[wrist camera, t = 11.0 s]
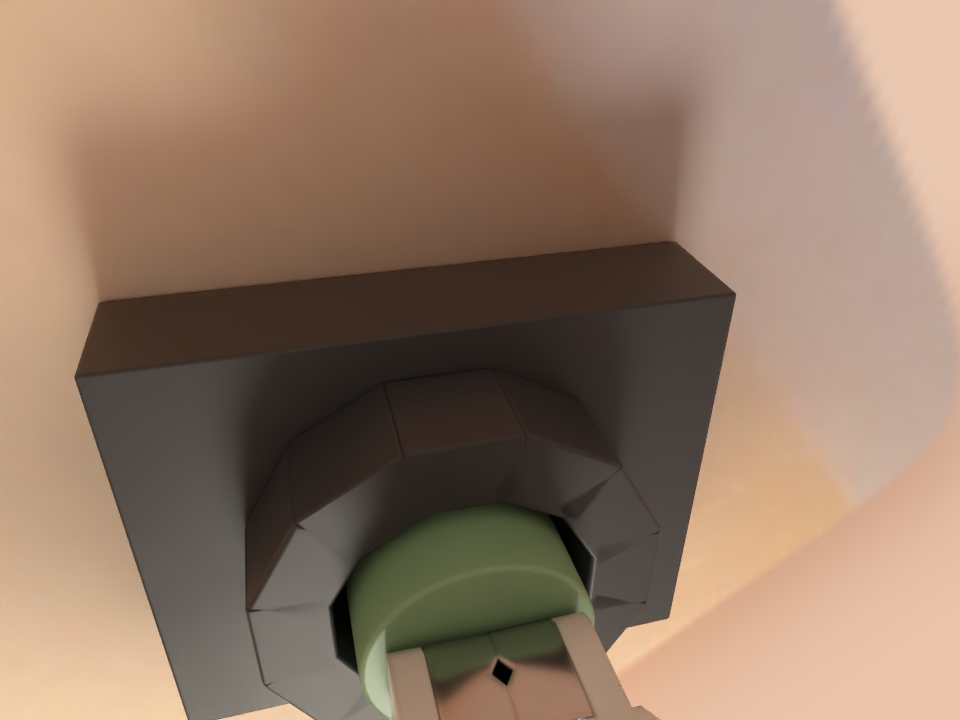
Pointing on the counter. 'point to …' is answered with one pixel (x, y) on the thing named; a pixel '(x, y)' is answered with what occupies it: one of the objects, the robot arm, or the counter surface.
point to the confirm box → (395, 445)
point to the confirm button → (457, 585)
